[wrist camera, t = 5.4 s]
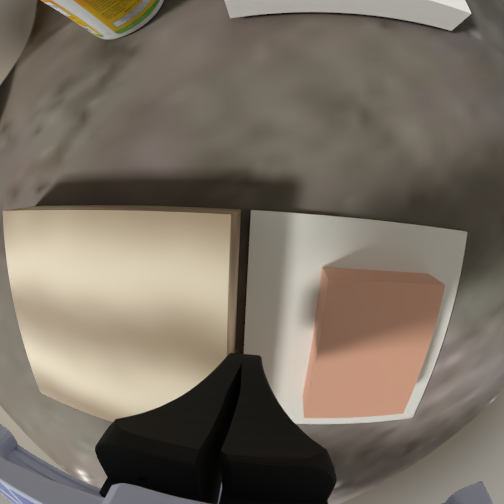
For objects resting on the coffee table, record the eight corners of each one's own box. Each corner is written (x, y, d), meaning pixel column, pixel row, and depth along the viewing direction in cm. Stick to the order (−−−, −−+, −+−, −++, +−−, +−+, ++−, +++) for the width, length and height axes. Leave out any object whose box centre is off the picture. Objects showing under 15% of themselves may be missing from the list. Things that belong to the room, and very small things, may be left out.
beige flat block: (233, 415, 17) (226, 448, 14) (61, 373, 18) (40, 392, 15) (241, 209, 14) (231, 214, 11) (34, 205, 15) (3, 210, 12)
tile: (303, 417, 14) (302, 395, 16) (403, 413, 13) (394, 393, 15) (328, 278, 12) (322, 266, 14) (445, 284, 12) (427, 273, 14)
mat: (411, 415, 16) (412, 417, 16) (241, 416, 17) (240, 419, 17) (464, 231, 13) (467, 232, 13) (251, 209, 14) (250, 210, 14)
